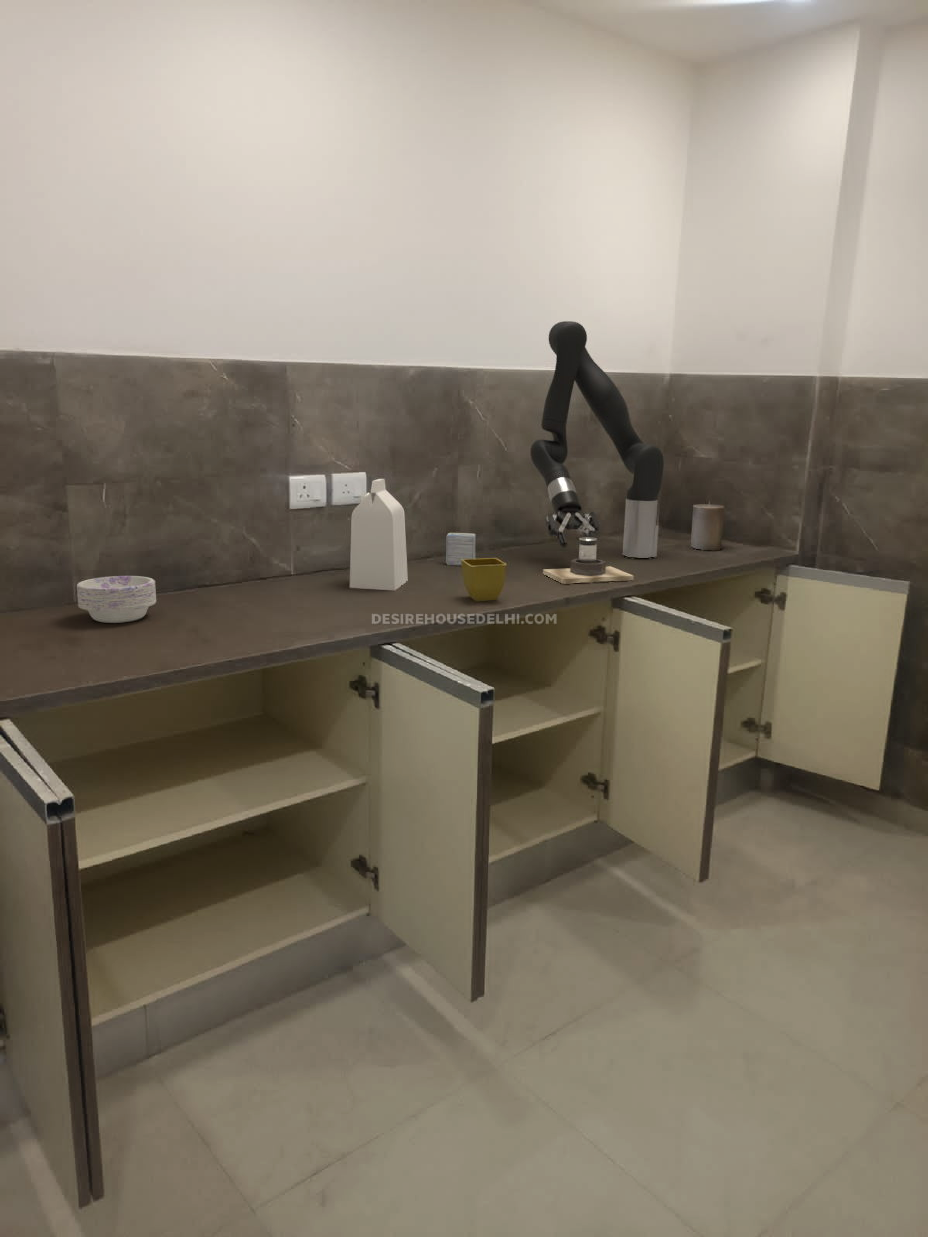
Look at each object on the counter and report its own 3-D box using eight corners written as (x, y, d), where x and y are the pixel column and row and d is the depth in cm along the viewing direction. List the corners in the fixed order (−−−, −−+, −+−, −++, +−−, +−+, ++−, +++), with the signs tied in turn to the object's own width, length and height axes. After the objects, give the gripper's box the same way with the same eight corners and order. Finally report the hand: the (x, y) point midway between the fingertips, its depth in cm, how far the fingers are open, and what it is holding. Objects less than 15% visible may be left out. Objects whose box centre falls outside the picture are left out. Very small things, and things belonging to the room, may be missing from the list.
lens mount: (610, 571, 242) (611, 555, 241) (633, 581, 230) (634, 564, 229) (542, 574, 236) (543, 558, 235) (562, 584, 224) (563, 567, 223)
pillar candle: (725, 548, 284) (728, 501, 281) (716, 552, 276) (719, 504, 272) (695, 545, 289) (698, 499, 286) (685, 549, 281) (689, 502, 278)
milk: (394, 590, 215) (394, 483, 208) (349, 587, 217) (348, 481, 210) (407, 580, 226) (407, 478, 220) (364, 578, 228) (363, 476, 222)
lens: (591, 570, 236) (592, 536, 233) (598, 573, 231) (600, 539, 229) (575, 571, 234) (576, 537, 232) (582, 574, 230) (584, 540, 228)
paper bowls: (132, 606, 195) (129, 570, 193) (171, 617, 185) (169, 580, 183) (65, 618, 183) (61, 581, 181) (103, 631, 174) (100, 592, 172)
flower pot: (469, 604, 202) (470, 565, 200) (459, 596, 210) (460, 558, 208) (506, 602, 204) (507, 564, 202) (495, 594, 212) (496, 557, 210)
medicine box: (475, 563, 251) (476, 533, 249) (473, 566, 247) (474, 535, 245) (447, 562, 252) (448, 532, 250) (445, 565, 247) (446, 534, 245)
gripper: (544, 489, 239) (559, 538, 232) (591, 489, 244) (608, 536, 236) (536, 506, 246) (550, 554, 238) (582, 505, 250) (598, 552, 242)
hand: (579, 545), depth 237 cm, fingers open, 8 cm apart
